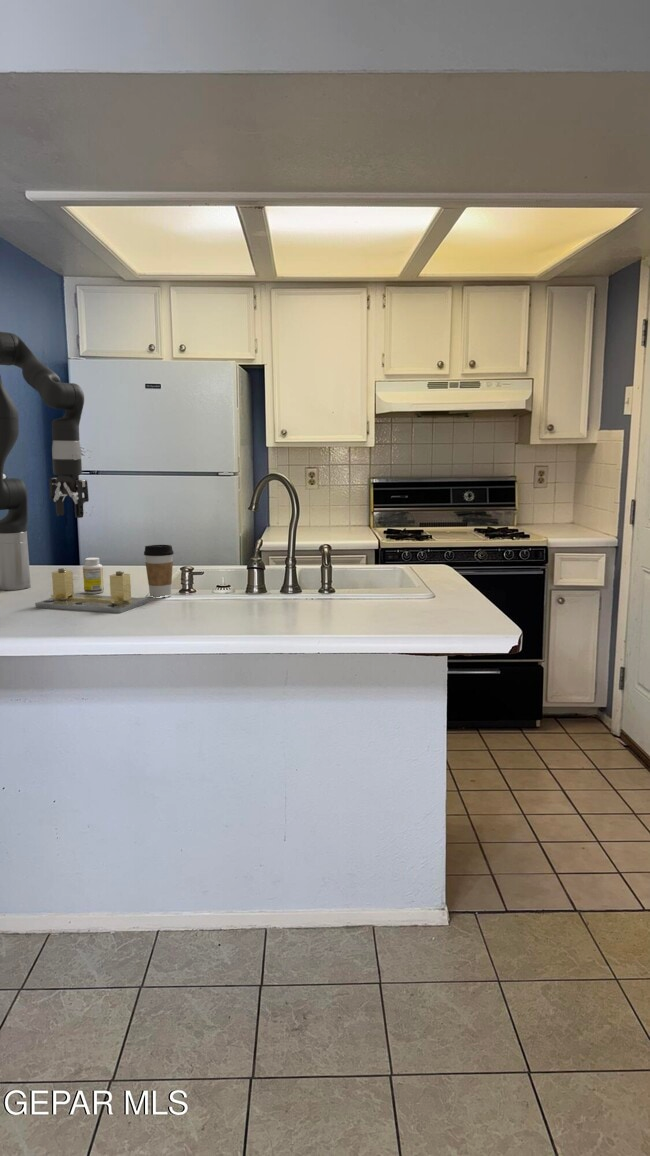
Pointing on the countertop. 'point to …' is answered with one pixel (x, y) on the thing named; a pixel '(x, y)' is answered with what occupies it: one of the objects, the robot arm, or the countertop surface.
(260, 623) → the countertop surface
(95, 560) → the supplement bottle
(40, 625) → the countertop surface
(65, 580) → the block
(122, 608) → the hole plate
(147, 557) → the coffee cup
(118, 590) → the dividers beam
